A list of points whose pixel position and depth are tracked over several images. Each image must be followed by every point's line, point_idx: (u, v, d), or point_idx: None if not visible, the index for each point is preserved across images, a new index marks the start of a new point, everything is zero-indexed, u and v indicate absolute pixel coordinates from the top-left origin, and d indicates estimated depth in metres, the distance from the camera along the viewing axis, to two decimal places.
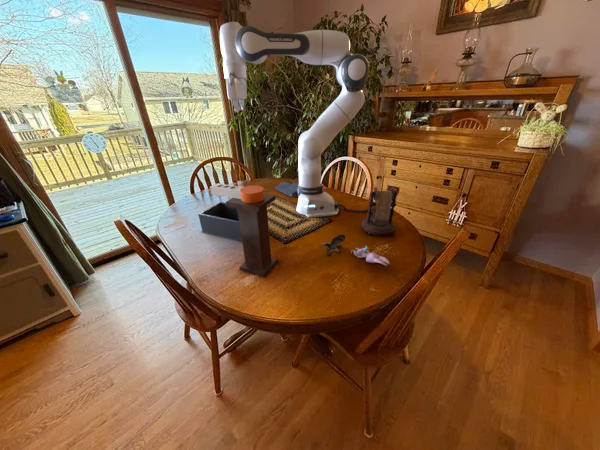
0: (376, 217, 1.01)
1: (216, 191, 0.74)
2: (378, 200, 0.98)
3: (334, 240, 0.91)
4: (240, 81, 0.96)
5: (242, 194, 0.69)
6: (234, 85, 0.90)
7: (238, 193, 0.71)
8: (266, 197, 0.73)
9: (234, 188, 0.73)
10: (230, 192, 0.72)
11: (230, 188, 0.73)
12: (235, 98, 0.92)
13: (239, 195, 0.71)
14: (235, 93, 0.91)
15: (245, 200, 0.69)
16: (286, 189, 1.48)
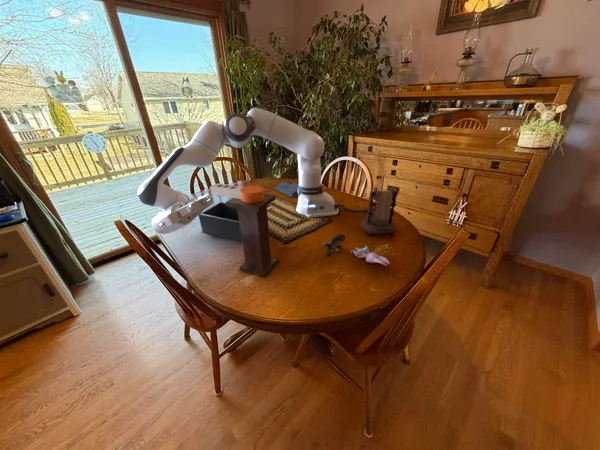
0: (376, 217, 1.01)
1: (216, 191, 0.74)
2: (378, 200, 0.98)
3: (334, 240, 0.91)
4: (176, 209, 0.85)
5: (242, 194, 0.69)
6: (162, 219, 0.79)
7: (238, 193, 0.71)
8: (266, 197, 0.73)
9: (234, 188, 0.73)
10: (230, 192, 0.72)
11: (230, 188, 0.73)
12: (169, 216, 0.76)
13: (239, 195, 0.71)
14: (165, 217, 0.77)
15: (245, 200, 0.69)
16: (286, 189, 1.48)
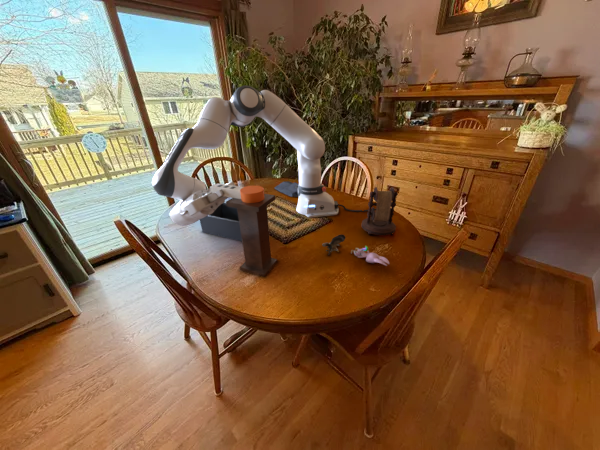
0: (376, 217, 1.01)
1: (216, 191, 0.74)
2: (378, 200, 0.98)
3: (334, 240, 0.91)
4: (198, 197, 0.78)
5: (242, 194, 0.69)
6: (185, 207, 0.72)
7: (238, 193, 0.71)
8: (266, 197, 0.73)
9: (234, 188, 0.73)
10: (230, 192, 0.72)
11: (230, 188, 0.73)
12: (193, 203, 0.69)
13: (239, 195, 0.71)
14: (189, 204, 0.70)
15: (245, 200, 0.69)
16: (286, 189, 1.48)
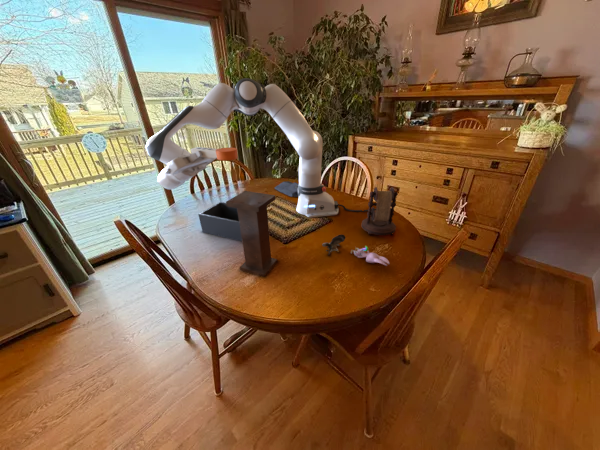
0: (376, 217, 1.01)
1: None
2: (378, 200, 0.98)
3: (334, 240, 0.91)
4: None
5: (217, 152, 0.79)
6: (168, 165, 0.82)
7: (214, 153, 0.82)
8: (266, 197, 0.73)
9: (211, 149, 0.83)
10: (208, 152, 0.83)
11: (208, 149, 0.83)
12: (175, 160, 0.80)
13: (215, 155, 0.82)
14: (171, 162, 0.80)
15: (220, 158, 0.80)
16: (286, 189, 1.48)
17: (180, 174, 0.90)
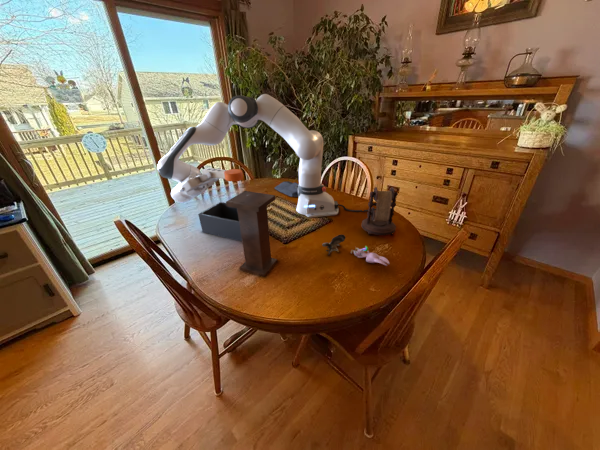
0: (376, 217, 1.01)
1: None
2: (378, 200, 0.98)
3: (334, 240, 0.91)
4: None
5: (225, 174, 0.92)
6: (182, 184, 0.95)
7: (223, 174, 0.94)
8: (266, 197, 0.73)
9: (220, 171, 0.96)
10: (217, 173, 0.95)
11: (217, 171, 0.96)
12: (188, 181, 0.92)
13: (223, 176, 0.94)
14: (185, 182, 0.93)
15: (227, 179, 0.92)
16: (286, 189, 1.48)
17: (192, 191, 1.02)
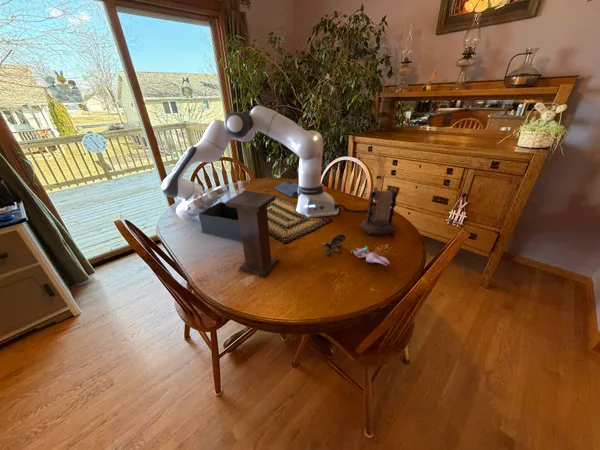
0: (376, 217, 1.01)
1: None
2: (378, 200, 0.98)
3: (334, 240, 0.91)
4: (197, 197, 1.05)
5: None
6: (188, 204, 0.99)
7: None
8: (266, 197, 0.73)
9: None
10: None
11: None
12: (194, 201, 0.96)
13: None
14: (190, 202, 0.97)
15: None
16: (286, 189, 1.48)
17: (197, 209, 1.06)
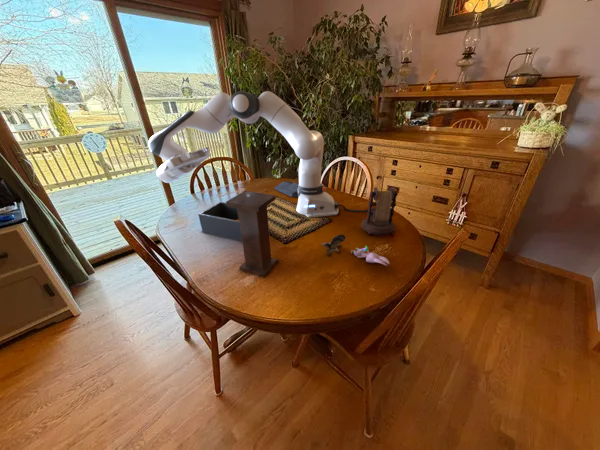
0: (376, 217, 1.01)
1: None
2: (378, 200, 0.98)
3: (334, 240, 0.91)
4: None
5: None
6: (165, 163, 0.93)
7: None
8: (266, 197, 0.73)
9: None
10: None
11: None
12: (171, 159, 0.91)
13: None
14: (168, 161, 0.91)
15: None
16: (286, 189, 1.48)
17: (177, 170, 1.01)
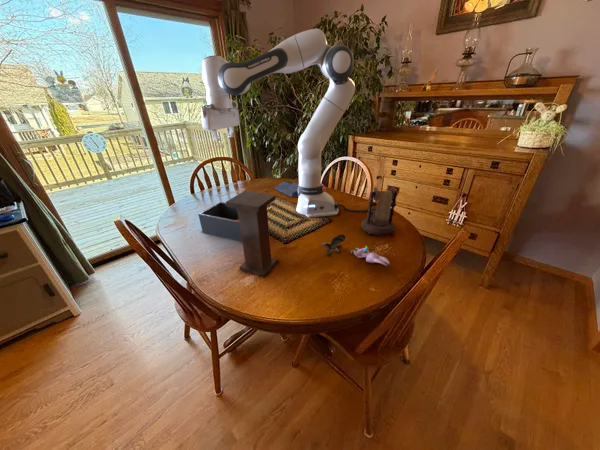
0: (376, 217, 1.01)
1: None
2: (378, 200, 0.98)
3: (334, 240, 0.91)
4: (220, 111, 0.96)
5: None
6: (207, 117, 0.91)
7: None
8: (266, 197, 0.73)
9: None
10: None
11: None
12: (208, 129, 0.93)
13: None
14: (208, 125, 0.92)
15: None
16: (286, 189, 1.48)
17: (208, 104, 0.95)
